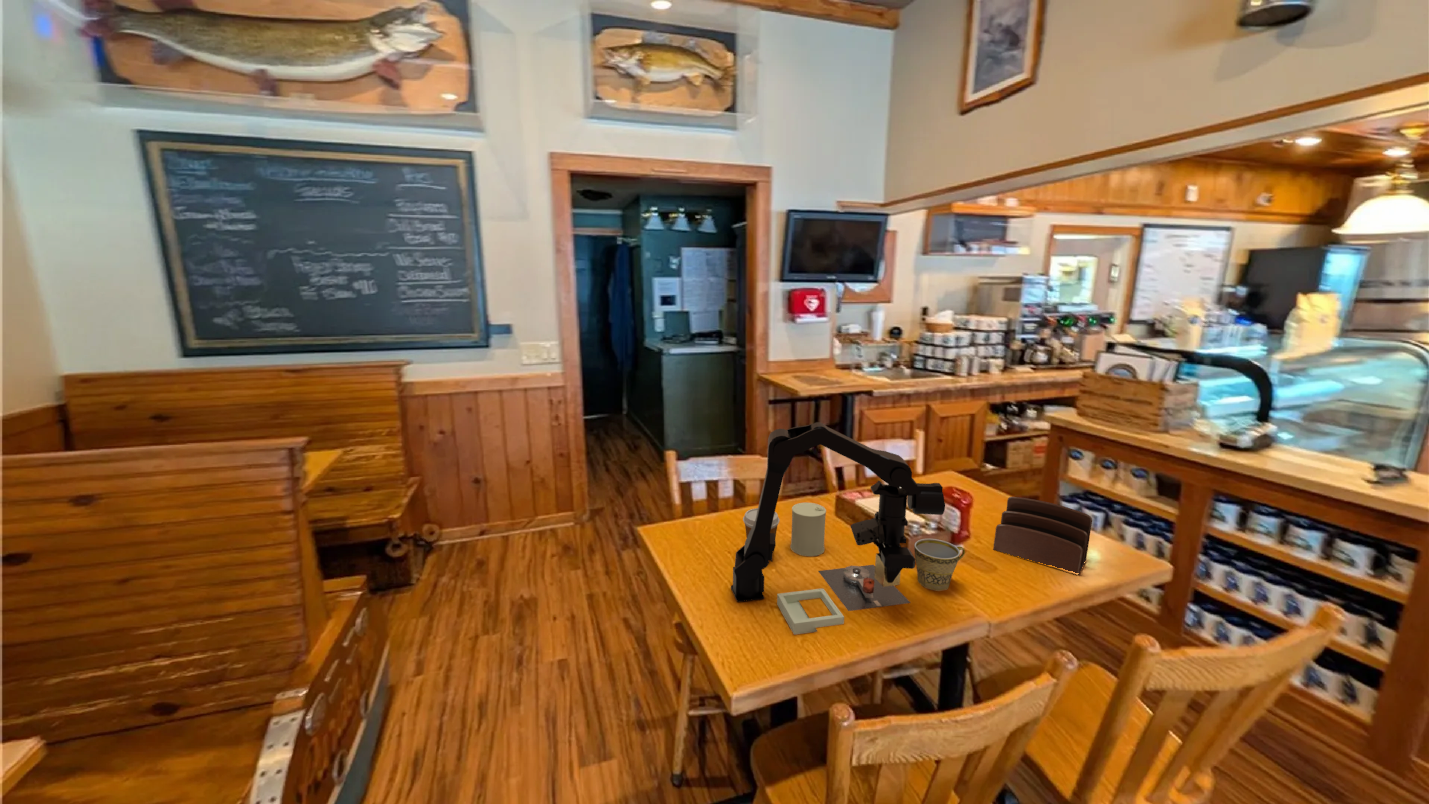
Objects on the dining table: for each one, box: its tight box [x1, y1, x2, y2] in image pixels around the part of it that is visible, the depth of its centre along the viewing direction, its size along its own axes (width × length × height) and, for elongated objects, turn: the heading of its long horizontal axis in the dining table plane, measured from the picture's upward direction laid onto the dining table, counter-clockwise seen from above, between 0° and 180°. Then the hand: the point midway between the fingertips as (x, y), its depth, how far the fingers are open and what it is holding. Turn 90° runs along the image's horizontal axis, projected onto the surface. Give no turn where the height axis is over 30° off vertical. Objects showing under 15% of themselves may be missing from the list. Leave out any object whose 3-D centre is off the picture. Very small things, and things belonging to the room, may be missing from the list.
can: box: [790, 502, 827, 557], centre depth 144 cm, size 9×9×12 cm
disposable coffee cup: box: [742, 507, 780, 562], centre depth 140 cm, size 10×10×12 cm
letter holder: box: [993, 496, 1093, 575], centre depth 140 cm, size 10×20×14 cm, turn 47°
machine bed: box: [818, 564, 911, 612], centre depth 125 cm, size 15×17×2 cm
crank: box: [844, 565, 874, 598], centre depth 125 cm, size 12×6×4 cm, turn 4°
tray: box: [776, 588, 845, 636], centre depth 115 cm, size 11×11×3 cm
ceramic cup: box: [913, 538, 966, 592], centre depth 126 cm, size 13×10×10 cm
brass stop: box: [874, 552, 902, 587], centre depth 120 cm, size 4×4×6 cm
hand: (887, 576), depth 120 cm, fingers closed on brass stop, 5 cm apart
